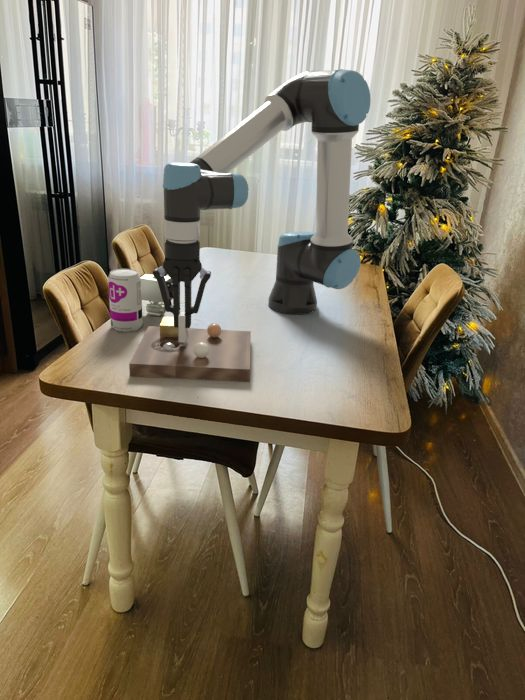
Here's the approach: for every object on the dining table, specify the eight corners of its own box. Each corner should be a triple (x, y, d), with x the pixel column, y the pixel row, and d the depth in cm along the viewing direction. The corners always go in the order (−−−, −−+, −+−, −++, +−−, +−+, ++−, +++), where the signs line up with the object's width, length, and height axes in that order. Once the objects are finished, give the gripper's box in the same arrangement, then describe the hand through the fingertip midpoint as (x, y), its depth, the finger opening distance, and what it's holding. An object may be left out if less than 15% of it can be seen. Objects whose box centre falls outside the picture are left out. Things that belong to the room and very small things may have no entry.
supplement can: (126, 335, 130) (123, 278, 124) (104, 327, 134) (100, 272, 128) (149, 326, 137) (147, 272, 131) (127, 319, 141) (124, 266, 134)
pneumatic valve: (172, 319, 142) (172, 278, 137) (133, 314, 144) (131, 273, 139) (179, 313, 147) (179, 273, 142) (141, 308, 149) (140, 268, 144)
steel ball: (175, 339, 120) (161, 339, 120) (174, 349, 117) (159, 349, 117) (177, 349, 122) (163, 350, 122) (176, 360, 120) (161, 360, 120)
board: (250, 342, 131) (250, 331, 130) (249, 381, 111) (249, 369, 110) (149, 336, 130) (148, 326, 129) (129, 376, 110) (129, 363, 109)
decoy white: (209, 354, 116) (210, 340, 114) (208, 360, 113) (208, 346, 111) (194, 353, 116) (194, 339, 114) (192, 360, 112) (192, 345, 111)
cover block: (187, 328, 129) (187, 317, 127) (184, 338, 123) (184, 326, 122) (164, 327, 128) (163, 316, 127) (159, 336, 123) (159, 325, 122)
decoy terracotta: (221, 334, 127) (222, 321, 125) (220, 340, 124) (221, 326, 122) (207, 334, 127) (207, 320, 125) (206, 339, 123) (206, 326, 122)
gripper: (213, 237, 113) (211, 335, 122) (154, 234, 112) (157, 332, 122) (211, 245, 106) (209, 347, 116) (148, 241, 106) (151, 345, 115)
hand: (182, 339), depth 119 cm, fingers closed
